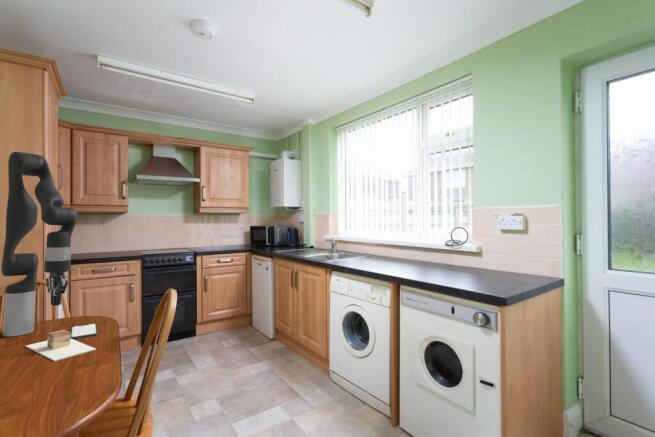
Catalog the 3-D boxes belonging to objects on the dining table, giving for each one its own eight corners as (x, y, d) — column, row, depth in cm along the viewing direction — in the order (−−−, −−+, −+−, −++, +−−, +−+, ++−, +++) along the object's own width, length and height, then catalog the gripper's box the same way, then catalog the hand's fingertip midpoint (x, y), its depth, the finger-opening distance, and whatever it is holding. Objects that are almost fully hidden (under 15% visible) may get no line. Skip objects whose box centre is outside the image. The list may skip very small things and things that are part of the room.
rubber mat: (25, 346, 115) (25, 345, 115) (65, 337, 126) (65, 336, 126) (54, 361, 103) (54, 360, 103) (95, 349, 113) (95, 348, 113)
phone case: (97, 337, 128) (96, 326, 141) (97, 333, 128) (96, 323, 141) (69, 341, 123) (71, 330, 136) (69, 337, 123) (71, 326, 136)
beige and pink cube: (47, 347, 114) (48, 333, 114) (64, 342, 118) (64, 329, 119) (53, 349, 112) (53, 335, 112) (69, 345, 116) (70, 331, 116)
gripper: (37, 258, 119) (35, 304, 118) (53, 260, 112) (50, 309, 111) (62, 257, 125) (60, 301, 125) (77, 259, 118) (75, 305, 118)
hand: (55, 304), depth 118 cm, fingers closed
